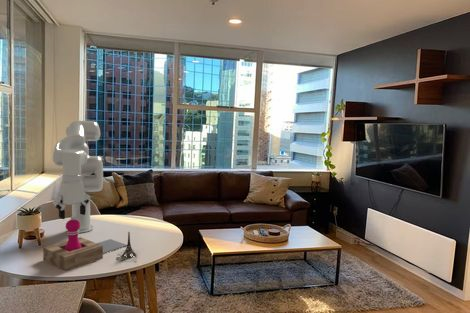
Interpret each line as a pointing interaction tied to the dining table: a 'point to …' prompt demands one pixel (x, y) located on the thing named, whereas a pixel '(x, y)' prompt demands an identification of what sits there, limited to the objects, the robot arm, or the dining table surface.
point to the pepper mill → (73, 235)
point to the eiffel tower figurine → (127, 251)
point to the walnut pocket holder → (72, 254)
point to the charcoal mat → (111, 245)
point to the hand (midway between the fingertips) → (72, 216)
